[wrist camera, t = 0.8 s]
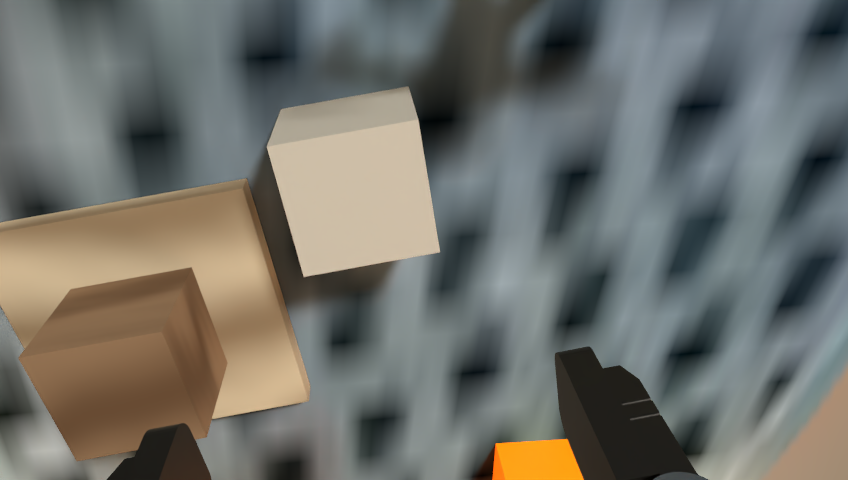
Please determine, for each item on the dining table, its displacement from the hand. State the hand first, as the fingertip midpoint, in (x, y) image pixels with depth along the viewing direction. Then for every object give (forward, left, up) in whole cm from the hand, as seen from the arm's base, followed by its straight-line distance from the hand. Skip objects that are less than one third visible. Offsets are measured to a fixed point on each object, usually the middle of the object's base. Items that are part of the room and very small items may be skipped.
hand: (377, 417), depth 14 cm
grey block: (0, 0, -17) cm, 17 cm away
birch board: (+6, -11, -17) cm, 21 cm away
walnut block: (+6, -11, -15) cm, 20 cm away
